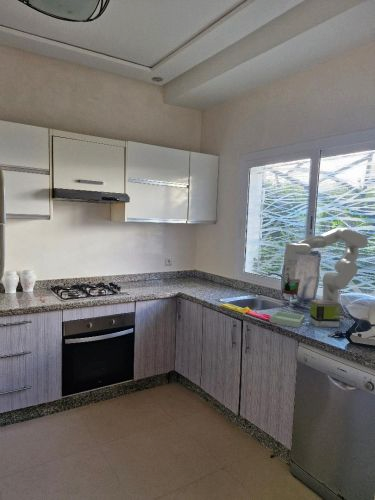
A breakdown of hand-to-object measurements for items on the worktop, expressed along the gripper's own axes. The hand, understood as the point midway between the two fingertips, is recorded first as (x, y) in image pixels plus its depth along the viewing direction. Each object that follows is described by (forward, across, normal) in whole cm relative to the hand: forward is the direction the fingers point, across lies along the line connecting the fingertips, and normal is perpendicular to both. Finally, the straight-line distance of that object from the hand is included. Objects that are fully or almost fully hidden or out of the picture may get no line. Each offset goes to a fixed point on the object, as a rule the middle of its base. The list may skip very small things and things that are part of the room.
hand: (288, 289), depth 225 cm
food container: (+2, -1, 0) cm, 3 cm away
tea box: (+20, +4, -22) cm, 30 cm away
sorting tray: (+20, -4, -2) cm, 20 cm away
